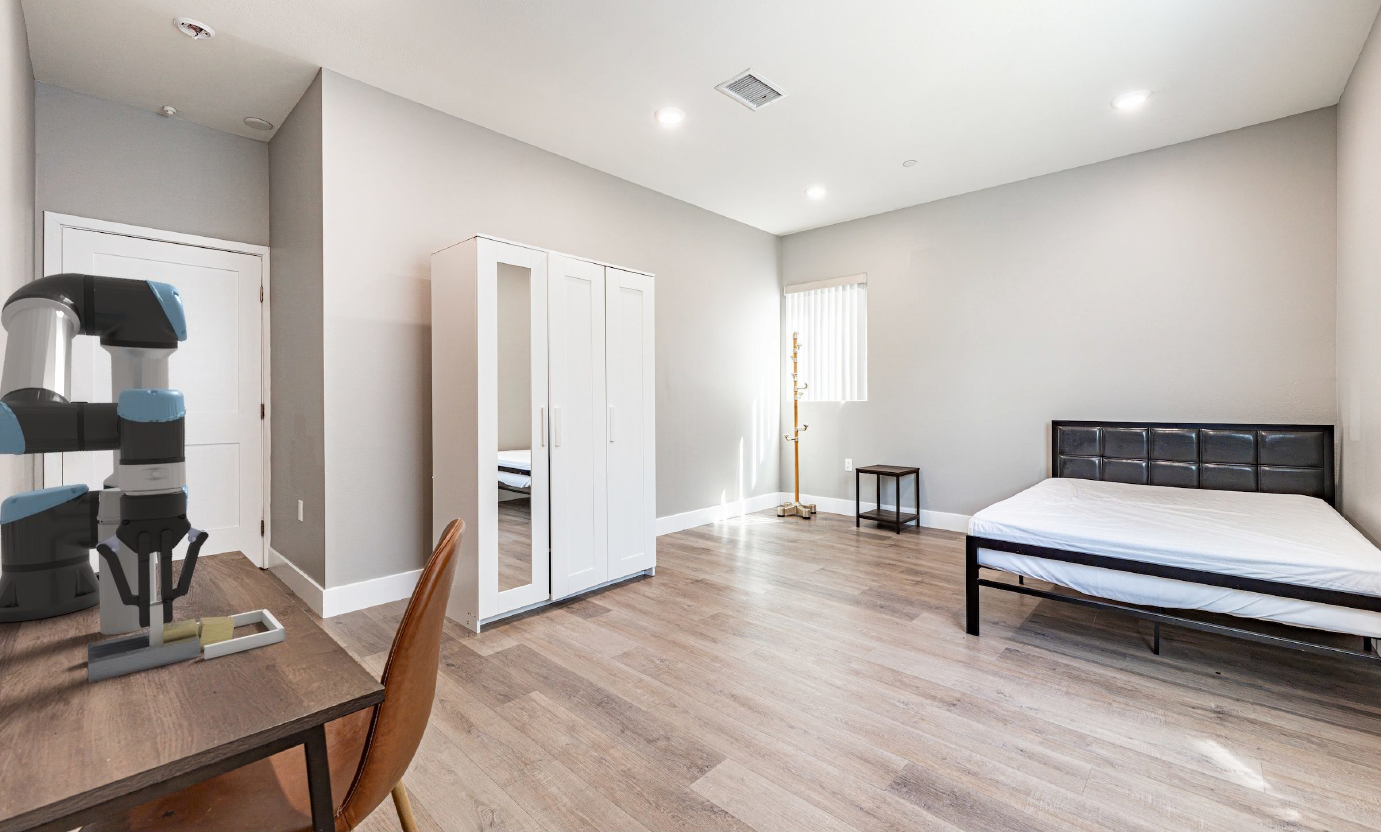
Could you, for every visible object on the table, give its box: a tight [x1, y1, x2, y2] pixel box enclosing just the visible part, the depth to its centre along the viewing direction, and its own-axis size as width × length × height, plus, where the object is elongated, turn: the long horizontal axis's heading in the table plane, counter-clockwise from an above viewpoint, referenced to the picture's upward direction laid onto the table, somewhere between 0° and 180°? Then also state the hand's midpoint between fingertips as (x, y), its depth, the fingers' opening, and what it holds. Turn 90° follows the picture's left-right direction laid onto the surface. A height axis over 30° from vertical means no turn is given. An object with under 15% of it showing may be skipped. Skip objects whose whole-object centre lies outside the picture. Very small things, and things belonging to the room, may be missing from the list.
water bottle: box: [97, 487, 161, 636], centre depth 104 cm, size 9×8×25 cm
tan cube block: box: [163, 618, 198, 644], centre depth 93 cm, size 4×4×4 cm
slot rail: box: [86, 631, 201, 683], centre depth 91 cm, size 10×12×4 cm
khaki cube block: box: [198, 615, 235, 651], centre depth 96 cm, size 4×4×4 cm
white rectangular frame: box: [196, 608, 286, 660], centre depth 99 cm, size 14×10×3 cm
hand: (156, 645), depth 91 cm, fingers closed
